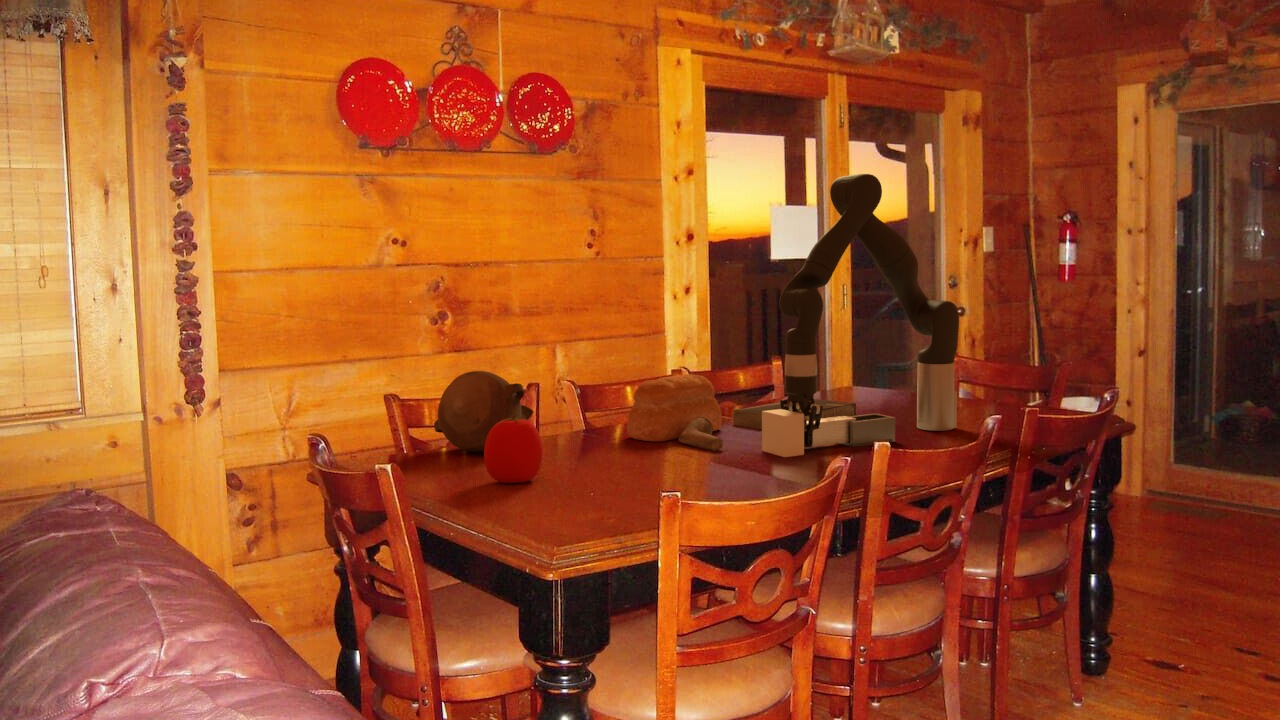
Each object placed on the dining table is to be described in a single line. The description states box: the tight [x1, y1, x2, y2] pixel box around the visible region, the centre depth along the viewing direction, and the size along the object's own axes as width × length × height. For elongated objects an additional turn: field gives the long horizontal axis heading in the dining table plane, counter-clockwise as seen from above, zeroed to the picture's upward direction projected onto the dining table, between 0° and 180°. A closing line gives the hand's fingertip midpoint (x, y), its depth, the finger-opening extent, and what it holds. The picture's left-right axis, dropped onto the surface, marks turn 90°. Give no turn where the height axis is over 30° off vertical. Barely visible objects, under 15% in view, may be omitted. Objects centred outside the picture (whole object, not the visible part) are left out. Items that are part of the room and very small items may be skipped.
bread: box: [626, 373, 723, 443], centre depth 276 cm, size 14×26×15 cm, turn 134°
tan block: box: [761, 409, 805, 458], centre depth 249 cm, size 6×9×10 cm, turn 28°
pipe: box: [678, 416, 724, 452], centre depth 261 cm, size 6×17×10 cm
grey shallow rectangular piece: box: [732, 398, 857, 430], centre depth 291 cm, size 29×19×5 cm, turn 131°
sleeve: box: [837, 413, 896, 448], centre depth 260 cm, size 13×7×6 cm, turn 118°
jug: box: [433, 370, 534, 453], centre depth 262 cm, size 20×20×30 cm
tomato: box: [483, 415, 544, 484], centre depth 223 cm, size 13×11×14 cm
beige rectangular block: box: [804, 416, 856, 449], centre depth 253 cm, size 20×5×6 cm, turn 118°
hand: (801, 444), depth 252 cm, fingers closed on beige rectangular block, 4 cm apart
